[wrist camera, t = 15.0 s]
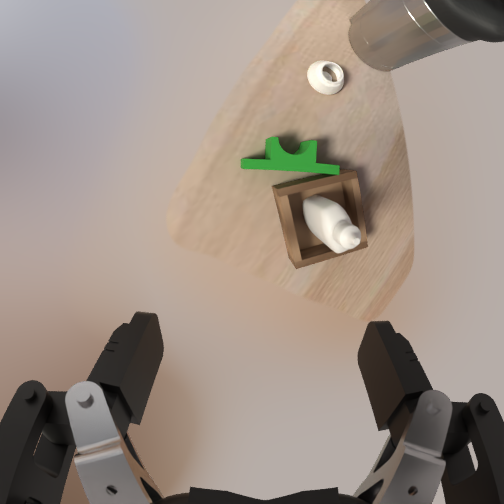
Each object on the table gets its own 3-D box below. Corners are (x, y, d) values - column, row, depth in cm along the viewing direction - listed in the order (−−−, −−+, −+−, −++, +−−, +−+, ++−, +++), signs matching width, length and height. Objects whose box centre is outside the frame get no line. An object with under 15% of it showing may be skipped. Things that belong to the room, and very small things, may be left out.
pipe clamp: (327, 145, 34) (341, 143, 29) (325, 172, 35) (339, 175, 31) (241, 138, 32) (244, 135, 28) (240, 167, 34) (243, 169, 29)
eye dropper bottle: (334, 196, 35) (381, 214, 24) (328, 237, 37) (370, 270, 26) (303, 192, 35) (340, 209, 23) (298, 235, 36) (330, 269, 25)
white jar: (300, 83, 31) (334, 101, 32) (307, 77, 28) (342, 97, 29) (314, 56, 29) (346, 73, 31) (321, 48, 27) (355, 68, 28)
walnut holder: (271, 186, 35) (277, 189, 31) (343, 169, 35) (356, 170, 31) (289, 257, 38) (296, 268, 34) (354, 238, 38) (367, 247, 34)
